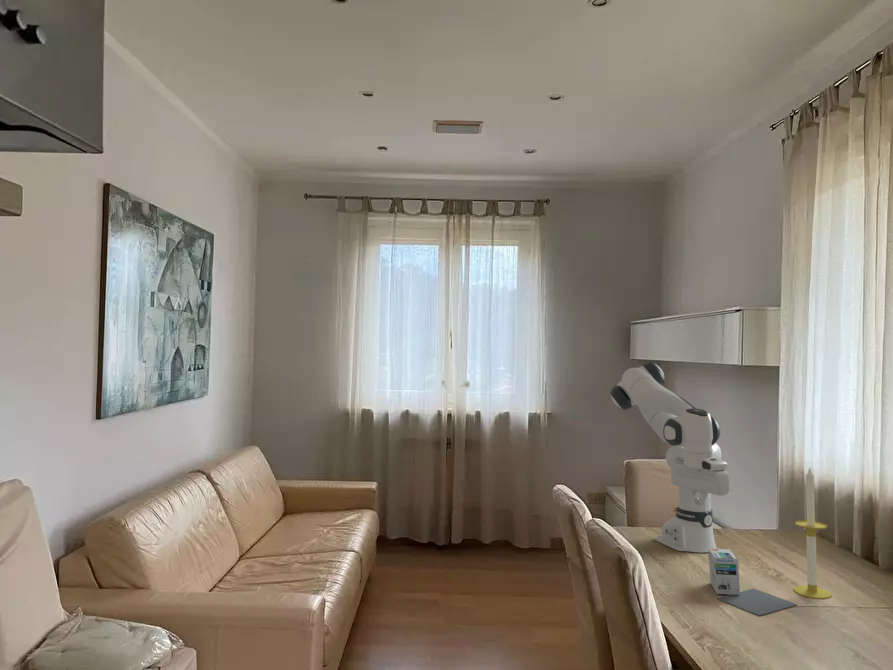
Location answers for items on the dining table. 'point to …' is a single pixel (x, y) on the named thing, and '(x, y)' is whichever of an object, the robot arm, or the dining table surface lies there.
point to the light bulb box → (724, 571)
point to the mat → (757, 602)
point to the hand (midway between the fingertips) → (699, 504)
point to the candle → (811, 545)
